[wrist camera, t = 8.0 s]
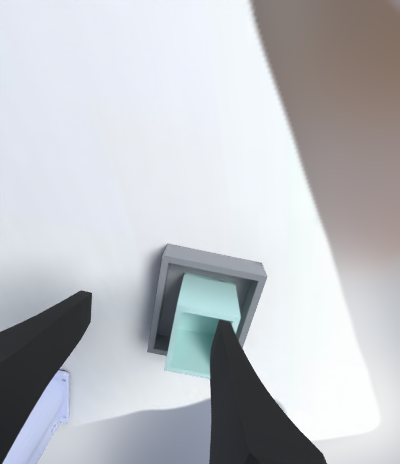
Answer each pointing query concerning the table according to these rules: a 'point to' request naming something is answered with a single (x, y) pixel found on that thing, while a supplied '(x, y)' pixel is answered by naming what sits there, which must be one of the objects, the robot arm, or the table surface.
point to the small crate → (200, 322)
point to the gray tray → (211, 265)
